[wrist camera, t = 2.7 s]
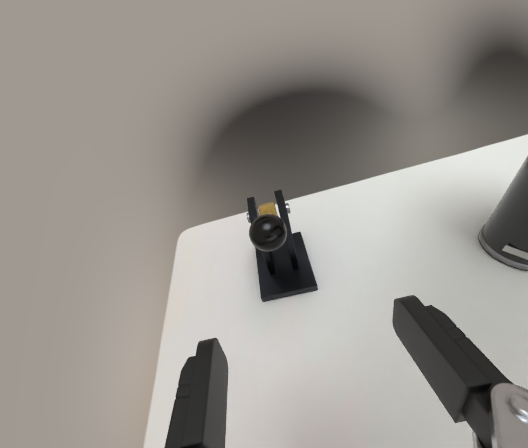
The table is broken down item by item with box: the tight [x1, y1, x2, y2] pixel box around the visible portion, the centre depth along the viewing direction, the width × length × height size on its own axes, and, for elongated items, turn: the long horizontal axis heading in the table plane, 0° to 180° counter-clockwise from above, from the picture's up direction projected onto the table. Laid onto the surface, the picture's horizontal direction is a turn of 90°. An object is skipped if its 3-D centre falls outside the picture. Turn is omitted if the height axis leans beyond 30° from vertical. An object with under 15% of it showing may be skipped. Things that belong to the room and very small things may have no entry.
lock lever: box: [249, 202, 287, 252], centre depth 28 cm, size 14×4×4 cm
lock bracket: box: [247, 190, 318, 302], centre depth 37 cm, size 12×9×15 cm
